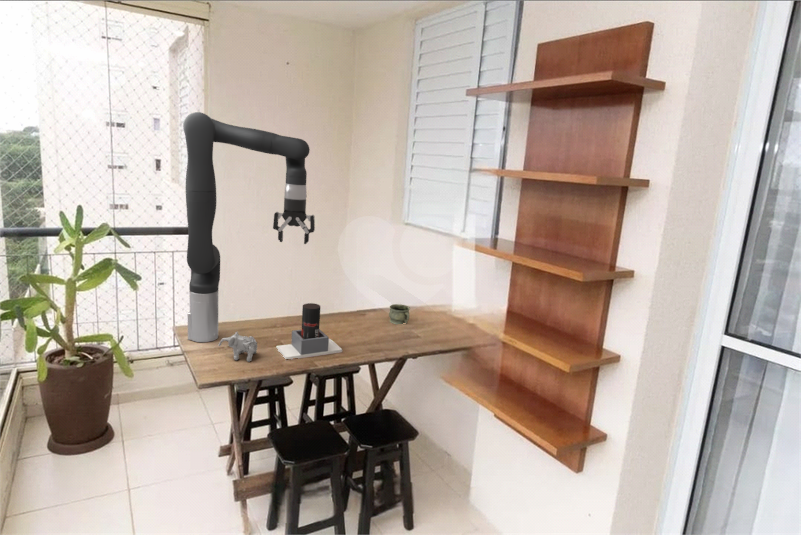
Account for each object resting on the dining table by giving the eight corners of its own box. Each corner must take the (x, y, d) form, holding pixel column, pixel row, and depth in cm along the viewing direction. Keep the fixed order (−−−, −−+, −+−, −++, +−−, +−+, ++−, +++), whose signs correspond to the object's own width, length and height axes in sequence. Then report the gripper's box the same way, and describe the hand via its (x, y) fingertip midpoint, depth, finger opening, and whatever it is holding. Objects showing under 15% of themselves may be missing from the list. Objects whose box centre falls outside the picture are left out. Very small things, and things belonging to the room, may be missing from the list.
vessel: (415, 324, 208) (417, 310, 207) (399, 327, 202) (401, 313, 201) (397, 315, 217) (398, 301, 215) (381, 318, 211) (382, 304, 210)
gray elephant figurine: (258, 363, 161) (260, 340, 159) (218, 363, 156) (219, 340, 155) (255, 351, 169) (257, 330, 168) (217, 352, 165) (219, 330, 163)
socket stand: (285, 360, 164) (286, 343, 162) (276, 348, 172) (276, 332, 170) (342, 352, 174) (343, 335, 172) (330, 341, 182) (331, 325, 181)
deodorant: (314, 352, 169) (316, 309, 166) (297, 349, 170) (299, 307, 167) (320, 345, 175) (323, 304, 171) (304, 343, 176) (306, 302, 173)
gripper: (272, 196, 171) (271, 243, 175) (314, 200, 173) (312, 246, 176) (276, 194, 179) (275, 239, 183) (317, 197, 180) (314, 242, 184)
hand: (293, 242), depth 179 cm, fingers open, 8 cm apart
